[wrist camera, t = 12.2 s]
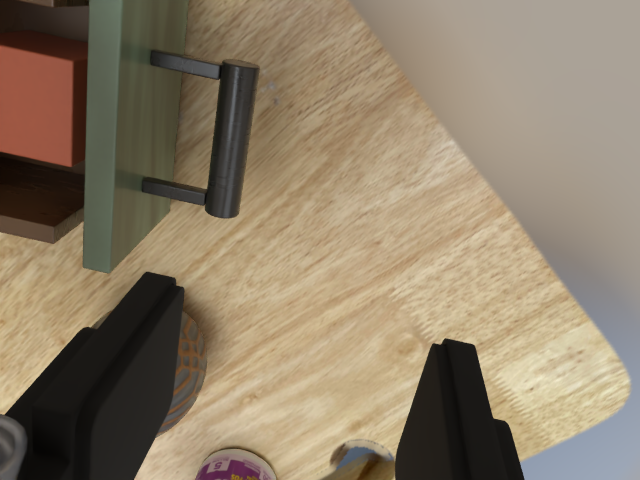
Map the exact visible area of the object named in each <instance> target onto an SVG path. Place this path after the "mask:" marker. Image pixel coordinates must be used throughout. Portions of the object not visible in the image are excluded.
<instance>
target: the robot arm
mask: <svg viewBox="0 0 640 480" xmlns="http://www.w3.org/2000/svg"><path fill="white" fill-rule="evenodd" d="M183 301H184V288H183V287H180V286H176V279H175V278H173V277H169V276H164V275H160V274H155V273H151V272H146V273H144V274H143V275H142V277H141V278H140V279H139V280H138V281H137V283H136V284H135V285H134V286H133V287H132V288H131V290H130V291H129V292H128V293H127V294H126V295H125V297H124V298H123V299H122V300H121V301H120V303H119V304H118V305H117V306H116V307H115V308H114V310H113V311H112V312H111V313H110V314H109V316H108V317H107V318H106V319H105V320H104V321H103V323H102V324H101V325H100V326H99V327H98V328H97V329H95V328H90V327H86V328H83V329H82V330H80V331H79V332H78V333H77V334H76V335H75V337H74V338H73V339H72V340H71V341H70V342H69V343H68V344H67V346H66V347H65V348H64V349H63V350H62V351H61V352H60V353H59V354H58V356H57V357H56V358H55V359H54V360H53V361H52V362H51V363H50V365H49V366H48V367H47V368H46V369H45V370H44V371H43V372H42V373H41V375H40V376H39V377H38V378H37V379H36V380H35V381H34V382H33V384H32V385H31V386H30V387H29V388H28V389H27V390H26V391H25V392H24V394H23V395H22V396H21V397H20V398H19V399H18V400H17V401H16V403H15V404H14V405H13V406H12V407H11V408H10V409H9V410H8V411H7V413H6V414H5V415H2V414H0V480H134V478H135V476H136V474H137V472H138V471H139V469H140V467H141V465H142V463H143V461H144V459H145V457H146V455H147V453H148V451H149V449H150V447H151V445H152V443H153V441H154V439H155V437H156V436H157V434H158V432H159V430H160V428H161V426H162V424H163V422H164V420H165V418H166V416H167V414H168V412H169V409H170V406H171V403H172V399H173V393H174V384H175V374H176V365H177V356H178V347H179V338H180V329H181V320H182V310H183ZM395 480H524V476H523V472H522V469H521V465H520V462H519V458H518V454H517V451H516V447H515V444H514V440H513V437H512V433H511V430H510V427H509V425H508V423H506V422H505V421H502V420H498V419H494V418H493V416H492V412H491V408H490V404H489V400H488V396H487V392H486V388H485V384H484V380H483V376H482V372H481V368H480V364H479V360H478V356H477V352H476V348H475V346H474V345H473V344H469V343H464V342H460V341H455V340H451V339H446V338H445V339H444V340H443V342H442V344H441V345H439V344H435V343H433V344H432V346H431V348H430V351H429V354H428V357H427V360H426V363H425V366H424V369H423V372H422V375H421V378H420V381H419V384H418V387H417V390H416V393H415V396H414V399H413V403H412V406H411V409H410V412H409V415H408V418H407V421H406V424H405V427H404V430H403V433H402V436H401V439H400V442H399V445H398V449H397V454H396V461H395Z"/></svg>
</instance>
